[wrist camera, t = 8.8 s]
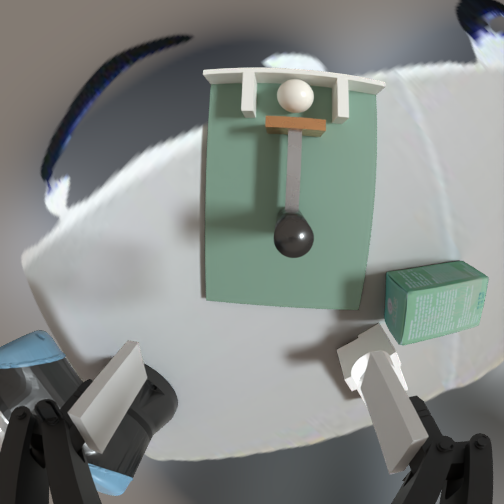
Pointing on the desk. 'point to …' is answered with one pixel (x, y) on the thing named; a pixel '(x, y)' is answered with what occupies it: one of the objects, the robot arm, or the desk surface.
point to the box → (433, 301)
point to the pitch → (274, 189)
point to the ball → (295, 96)
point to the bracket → (367, 357)
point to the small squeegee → (293, 185)
